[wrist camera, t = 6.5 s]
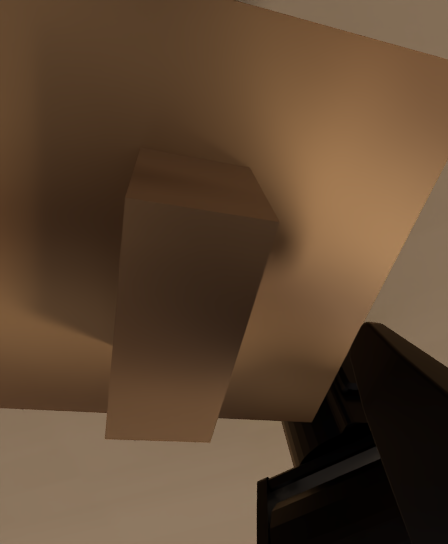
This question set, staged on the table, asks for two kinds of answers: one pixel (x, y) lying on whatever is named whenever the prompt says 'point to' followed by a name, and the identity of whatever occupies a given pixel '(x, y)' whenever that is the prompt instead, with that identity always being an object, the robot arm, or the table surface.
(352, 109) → the lid
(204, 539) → the table surface
